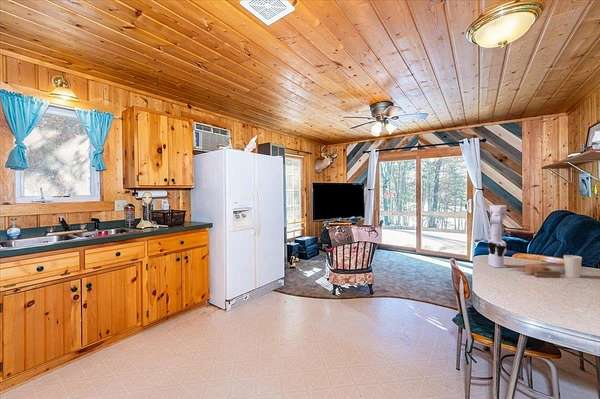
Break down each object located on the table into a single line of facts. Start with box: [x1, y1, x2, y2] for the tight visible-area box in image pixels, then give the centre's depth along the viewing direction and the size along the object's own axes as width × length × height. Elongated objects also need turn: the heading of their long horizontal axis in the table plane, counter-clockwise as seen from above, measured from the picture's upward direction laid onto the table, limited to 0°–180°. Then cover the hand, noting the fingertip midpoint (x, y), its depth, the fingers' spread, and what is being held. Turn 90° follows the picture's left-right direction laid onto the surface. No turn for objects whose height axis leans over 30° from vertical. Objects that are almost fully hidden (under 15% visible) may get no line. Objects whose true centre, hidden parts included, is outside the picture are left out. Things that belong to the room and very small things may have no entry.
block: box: [524, 264, 544, 275], centre depth 175 cm, size 8×4×5 cm, turn 91°
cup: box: [563, 254, 583, 279], centre depth 168 cm, size 8×8×12 cm
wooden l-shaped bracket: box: [534, 265, 561, 279], centre depth 173 cm, size 14×13×4 cm
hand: (496, 255), depth 180 cm, fingers open, 7 cm apart
